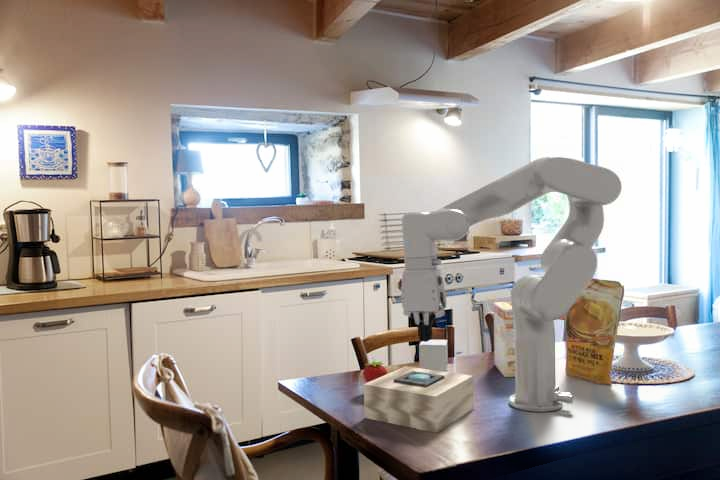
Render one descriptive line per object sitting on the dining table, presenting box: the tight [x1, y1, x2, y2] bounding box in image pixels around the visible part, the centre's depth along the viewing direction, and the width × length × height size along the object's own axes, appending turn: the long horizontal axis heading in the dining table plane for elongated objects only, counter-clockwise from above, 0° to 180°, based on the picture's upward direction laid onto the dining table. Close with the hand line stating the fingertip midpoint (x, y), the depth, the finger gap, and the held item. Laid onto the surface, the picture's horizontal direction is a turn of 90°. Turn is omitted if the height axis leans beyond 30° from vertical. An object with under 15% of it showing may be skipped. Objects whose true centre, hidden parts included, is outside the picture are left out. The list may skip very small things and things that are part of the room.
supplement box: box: [418, 339, 449, 372], centre depth 168 cm, size 7×7×13 cm
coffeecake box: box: [493, 301, 515, 378], centre depth 184 cm, size 15×7×20 cm, turn 179°
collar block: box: [363, 365, 475, 433], centre depth 148 cm, size 19×19×9 cm
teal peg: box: [409, 374, 430, 382], centre depth 148 cm, size 5×5×7 cm
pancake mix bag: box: [564, 277, 625, 386], centre depth 173 cm, size 7×19×28 cm, turn 27°
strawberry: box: [363, 356, 388, 383], centre depth 165 cm, size 6×8×10 cm
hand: (425, 340), depth 148 cm, fingers closed
